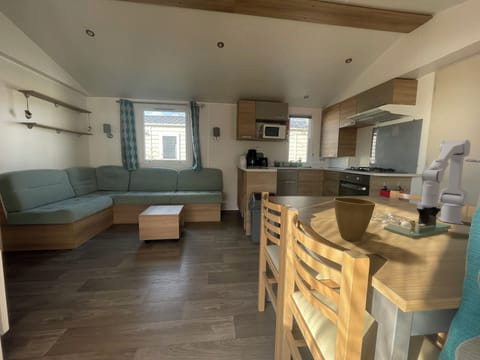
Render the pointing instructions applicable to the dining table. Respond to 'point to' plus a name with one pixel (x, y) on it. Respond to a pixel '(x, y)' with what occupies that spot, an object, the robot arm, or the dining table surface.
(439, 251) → the dining table surface
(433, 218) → the block ended dumbbell
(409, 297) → the dining table surface
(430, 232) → the green long flat piece
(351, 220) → the plant pot
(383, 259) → the dining table surface
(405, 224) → the ball
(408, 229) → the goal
